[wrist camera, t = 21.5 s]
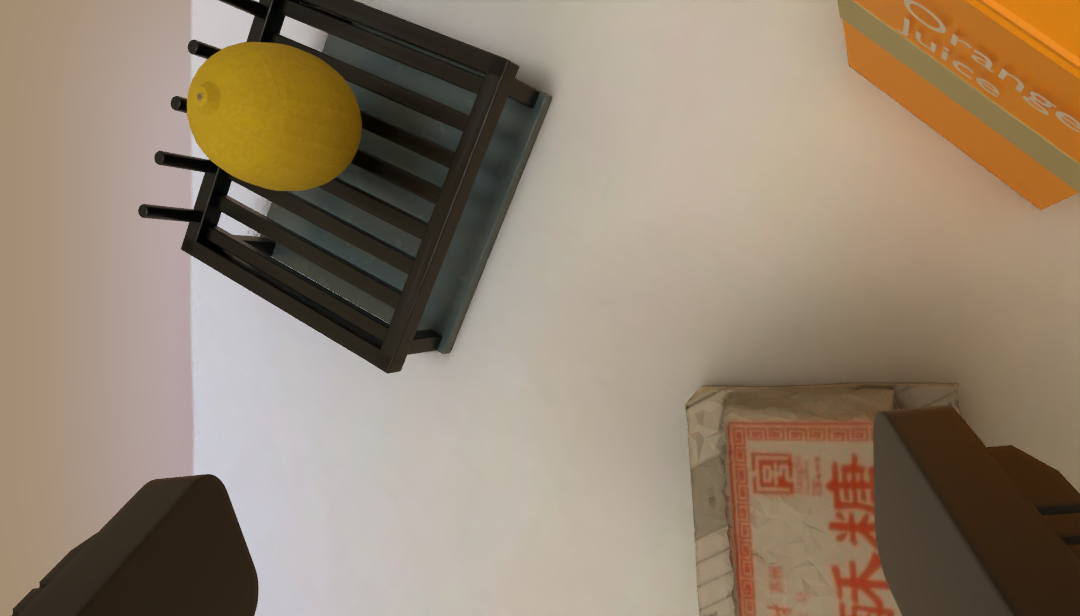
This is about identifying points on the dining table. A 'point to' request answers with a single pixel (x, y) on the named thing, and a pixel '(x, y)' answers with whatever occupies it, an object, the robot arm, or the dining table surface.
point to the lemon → (274, 116)
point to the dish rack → (378, 185)
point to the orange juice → (982, 80)
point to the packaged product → (792, 496)
